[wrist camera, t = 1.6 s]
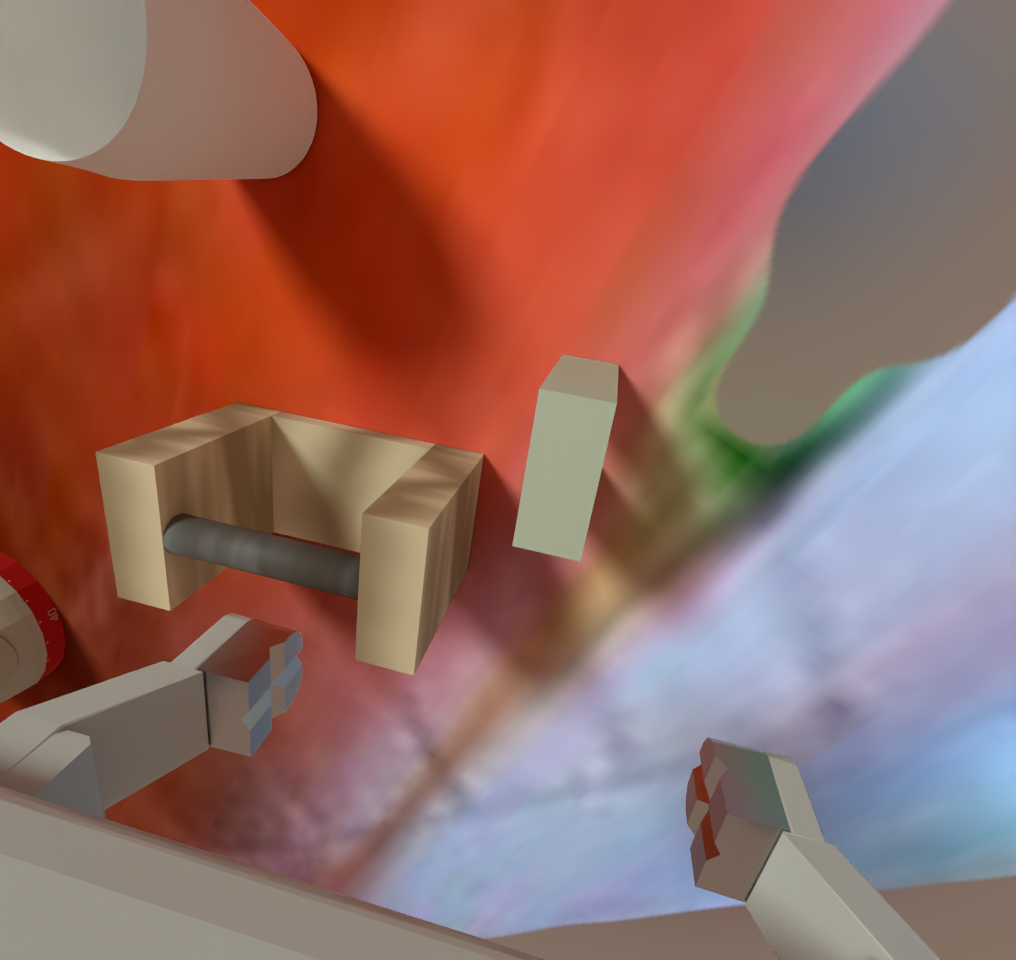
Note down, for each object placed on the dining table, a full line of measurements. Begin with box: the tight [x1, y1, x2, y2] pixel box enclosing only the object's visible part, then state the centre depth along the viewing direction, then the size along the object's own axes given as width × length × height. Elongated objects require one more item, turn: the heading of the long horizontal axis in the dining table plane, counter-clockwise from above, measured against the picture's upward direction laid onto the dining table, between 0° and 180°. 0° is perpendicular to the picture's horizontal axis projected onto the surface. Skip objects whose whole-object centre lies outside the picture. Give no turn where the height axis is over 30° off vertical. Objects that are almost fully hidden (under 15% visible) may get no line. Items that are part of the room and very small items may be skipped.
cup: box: [0, 0, 317, 181], centre depth 22 cm, size 9×9×12 cm
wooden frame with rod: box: [96, 402, 484, 675], centre depth 30 cm, size 16×8×10 cm, turn 81°
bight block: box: [512, 354, 619, 562], centre depth 26 cm, size 3×7×9 cm, turn 171°
